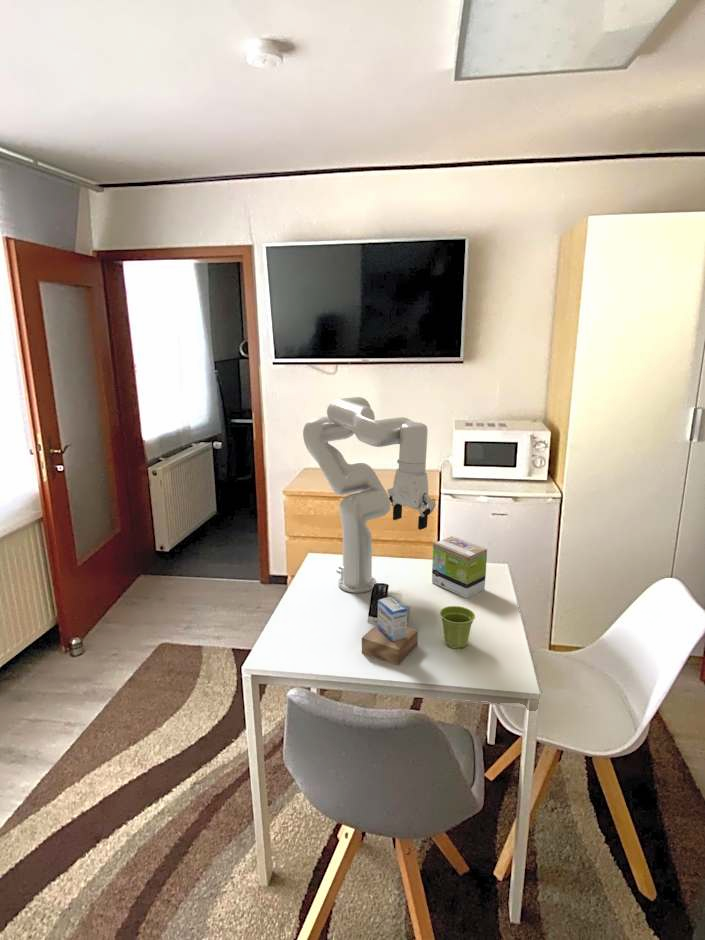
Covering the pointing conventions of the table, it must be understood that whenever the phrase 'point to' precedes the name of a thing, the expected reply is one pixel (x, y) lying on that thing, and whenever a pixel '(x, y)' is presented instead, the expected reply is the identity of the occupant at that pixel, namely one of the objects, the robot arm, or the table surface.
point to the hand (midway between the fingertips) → (409, 523)
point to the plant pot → (456, 625)
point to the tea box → (459, 566)
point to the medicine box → (392, 619)
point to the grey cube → (407, 612)
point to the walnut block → (389, 645)
